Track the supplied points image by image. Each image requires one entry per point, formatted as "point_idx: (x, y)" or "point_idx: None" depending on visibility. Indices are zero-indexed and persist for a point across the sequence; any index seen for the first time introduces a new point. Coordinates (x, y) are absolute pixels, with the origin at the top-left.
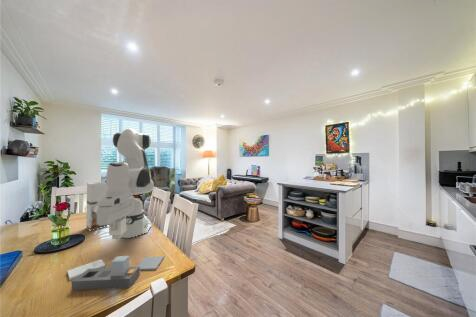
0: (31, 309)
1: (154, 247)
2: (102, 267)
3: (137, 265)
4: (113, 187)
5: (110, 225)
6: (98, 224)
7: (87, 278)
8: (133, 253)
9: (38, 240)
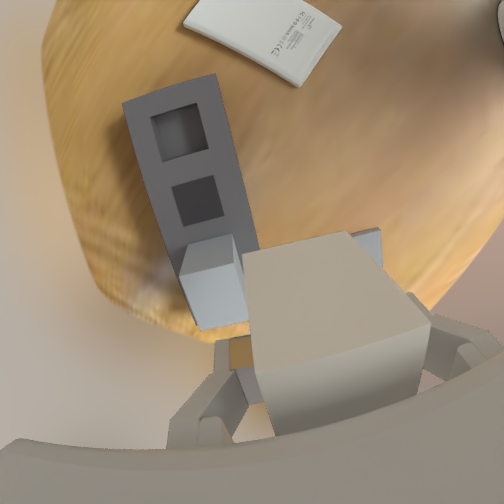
0: (52, 83)
1: (457, 208)
2: (289, 81)
3: None
4: None
5: (194, 405)
6: (7, 451)
7: (151, 151)
8: (414, 141)
9: None
